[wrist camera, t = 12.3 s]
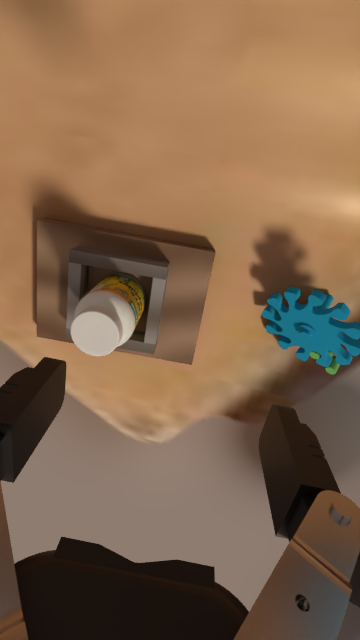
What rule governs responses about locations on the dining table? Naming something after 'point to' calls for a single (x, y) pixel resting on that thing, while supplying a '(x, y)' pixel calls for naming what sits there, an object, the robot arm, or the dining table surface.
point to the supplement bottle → (108, 314)
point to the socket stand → (129, 259)
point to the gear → (313, 328)
